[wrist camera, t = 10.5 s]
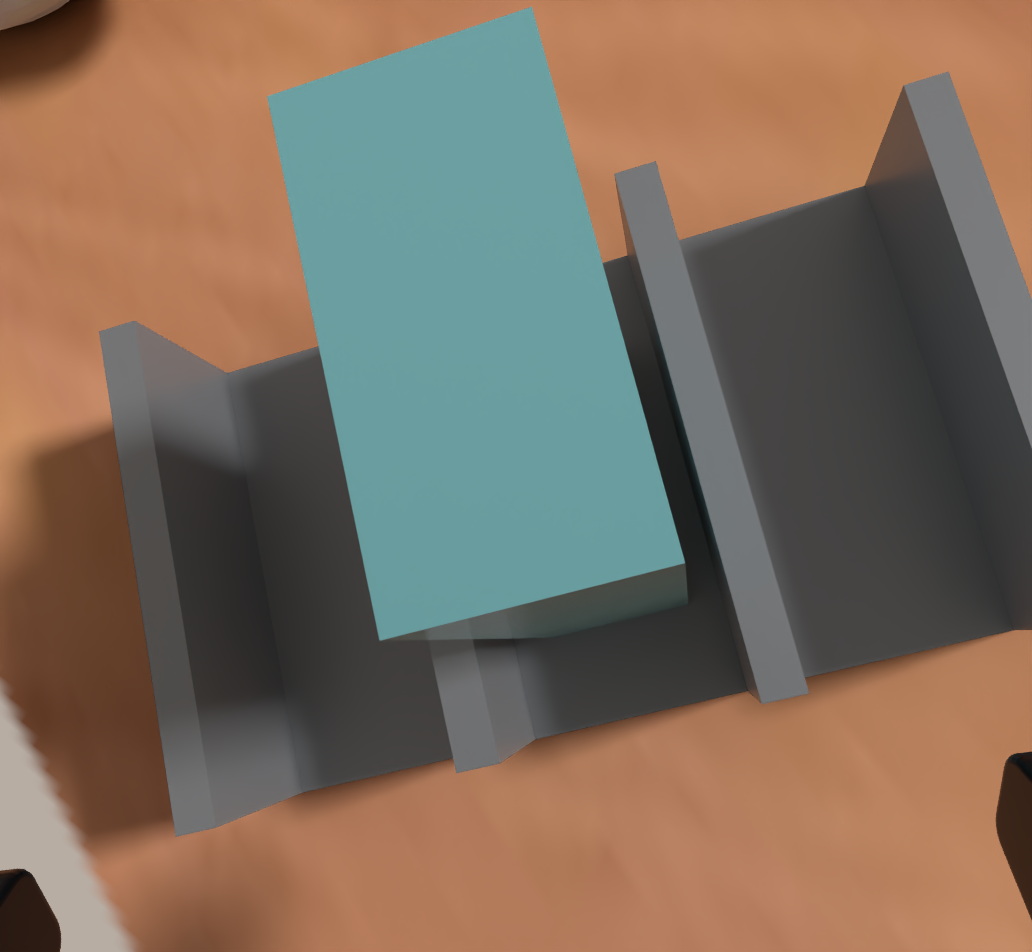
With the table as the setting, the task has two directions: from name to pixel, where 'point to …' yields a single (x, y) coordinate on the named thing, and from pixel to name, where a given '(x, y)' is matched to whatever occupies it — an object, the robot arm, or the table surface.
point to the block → (473, 346)
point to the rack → (685, 474)
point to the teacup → (25, 11)
